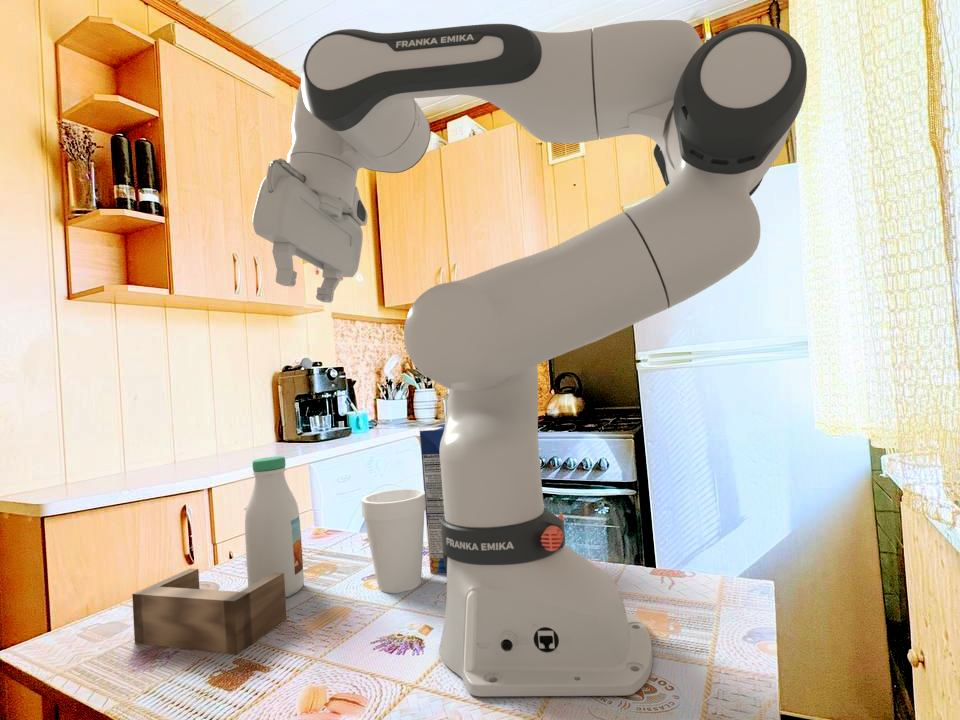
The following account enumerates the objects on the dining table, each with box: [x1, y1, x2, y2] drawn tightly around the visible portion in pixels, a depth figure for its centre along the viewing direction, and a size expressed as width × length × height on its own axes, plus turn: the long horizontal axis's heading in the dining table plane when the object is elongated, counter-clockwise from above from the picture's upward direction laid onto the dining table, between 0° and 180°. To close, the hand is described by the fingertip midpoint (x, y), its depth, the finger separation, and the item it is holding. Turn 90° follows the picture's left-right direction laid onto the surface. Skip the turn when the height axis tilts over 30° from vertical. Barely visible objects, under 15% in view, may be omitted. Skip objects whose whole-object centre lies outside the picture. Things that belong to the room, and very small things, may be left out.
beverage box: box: [419, 423, 447, 574], centre depth 82 cm, size 7×11×22 cm, turn 166°
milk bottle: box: [244, 455, 305, 598], centre depth 75 cm, size 8×8×20 cm
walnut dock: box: [131, 568, 288, 655], centre depth 64 cm, size 16×8×6 cm, turn 72°
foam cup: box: [360, 488, 426, 594], centre depth 74 cm, size 10×9×13 cm
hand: (306, 293), depth 64 cm, fingers open, 8 cm apart
